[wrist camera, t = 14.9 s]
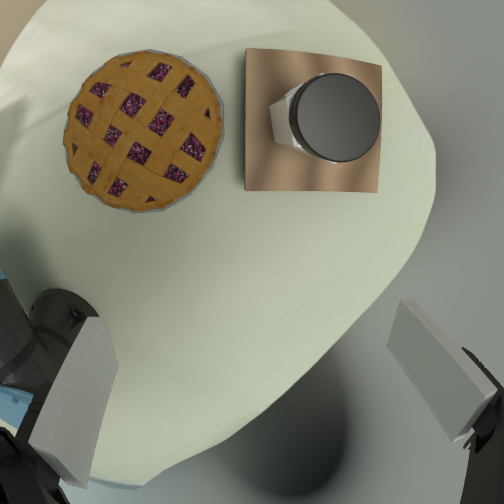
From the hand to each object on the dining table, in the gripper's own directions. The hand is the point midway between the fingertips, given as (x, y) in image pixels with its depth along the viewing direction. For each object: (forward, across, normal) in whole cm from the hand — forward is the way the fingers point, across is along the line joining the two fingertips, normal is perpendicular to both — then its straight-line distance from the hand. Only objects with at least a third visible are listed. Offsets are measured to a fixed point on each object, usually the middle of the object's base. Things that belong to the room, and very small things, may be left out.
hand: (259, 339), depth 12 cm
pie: (+32, -11, +9) cm, 35 cm away
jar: (+27, +9, +10) cm, 30 cm away
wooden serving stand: (+32, +11, +10) cm, 35 cm away
